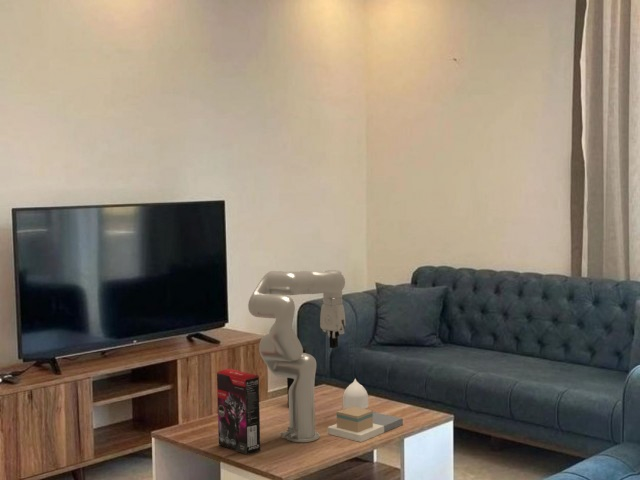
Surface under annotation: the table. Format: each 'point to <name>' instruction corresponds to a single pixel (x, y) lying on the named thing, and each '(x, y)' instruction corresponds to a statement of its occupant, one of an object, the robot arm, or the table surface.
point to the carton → (354, 419)
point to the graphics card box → (238, 411)
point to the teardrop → (355, 396)
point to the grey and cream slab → (379, 426)
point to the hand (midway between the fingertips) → (333, 347)
